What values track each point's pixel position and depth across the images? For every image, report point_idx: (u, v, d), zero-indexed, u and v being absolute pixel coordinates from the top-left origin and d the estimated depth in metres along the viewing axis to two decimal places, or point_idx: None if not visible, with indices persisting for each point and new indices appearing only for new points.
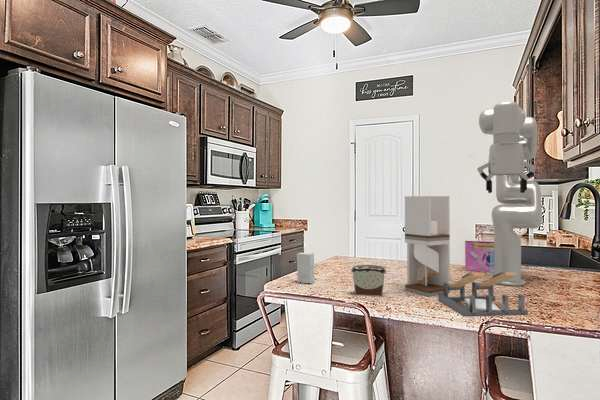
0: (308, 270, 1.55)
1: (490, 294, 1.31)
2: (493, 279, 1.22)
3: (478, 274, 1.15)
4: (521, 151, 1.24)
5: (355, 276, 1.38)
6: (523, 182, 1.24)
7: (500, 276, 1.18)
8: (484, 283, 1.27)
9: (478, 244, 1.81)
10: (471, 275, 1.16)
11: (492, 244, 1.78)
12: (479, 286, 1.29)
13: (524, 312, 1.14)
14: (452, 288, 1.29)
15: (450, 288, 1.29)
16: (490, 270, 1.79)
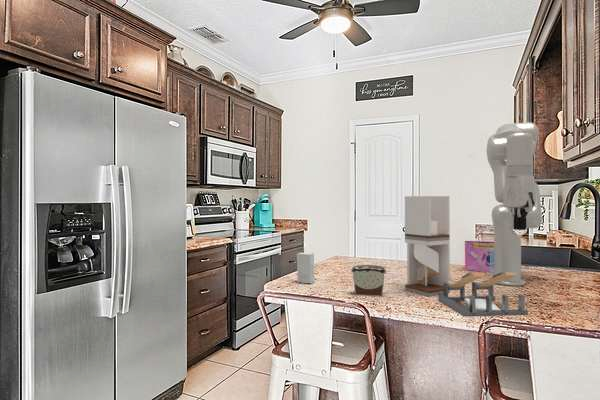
0: (308, 270, 1.55)
1: (490, 294, 1.31)
2: (493, 279, 1.22)
3: (478, 274, 1.15)
4: None
5: (355, 276, 1.38)
6: None
7: (500, 276, 1.18)
8: (484, 283, 1.27)
9: (478, 244, 1.81)
10: (471, 275, 1.16)
11: (492, 244, 1.78)
12: (479, 286, 1.29)
13: (524, 312, 1.14)
14: (452, 288, 1.29)
15: (450, 288, 1.29)
16: (490, 270, 1.79)
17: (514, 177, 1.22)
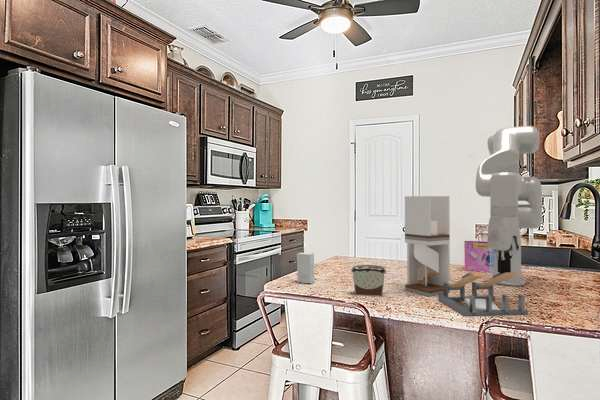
0: (308, 270, 1.55)
1: (490, 294, 1.31)
2: (493, 279, 1.22)
3: (478, 274, 1.15)
4: None
5: (355, 276, 1.38)
6: None
7: (500, 276, 1.18)
8: (484, 283, 1.27)
9: (477, 244, 1.81)
10: (471, 275, 1.16)
11: None
12: (479, 286, 1.29)
13: (524, 312, 1.14)
14: (452, 288, 1.29)
15: (450, 288, 1.29)
16: (489, 270, 1.79)
17: (498, 218, 1.17)
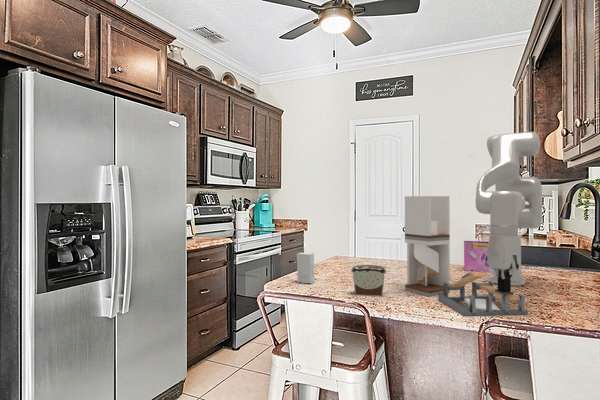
0: (308, 270, 1.55)
1: (490, 294, 1.31)
2: (495, 293, 1.21)
3: (478, 274, 1.15)
4: None
5: (355, 276, 1.38)
6: None
7: None
8: (485, 289, 1.26)
9: (477, 244, 1.81)
10: (471, 275, 1.16)
11: None
12: (479, 287, 1.30)
13: (524, 312, 1.14)
14: (452, 288, 1.29)
15: (450, 288, 1.29)
16: (489, 270, 1.79)
17: (498, 237, 1.17)
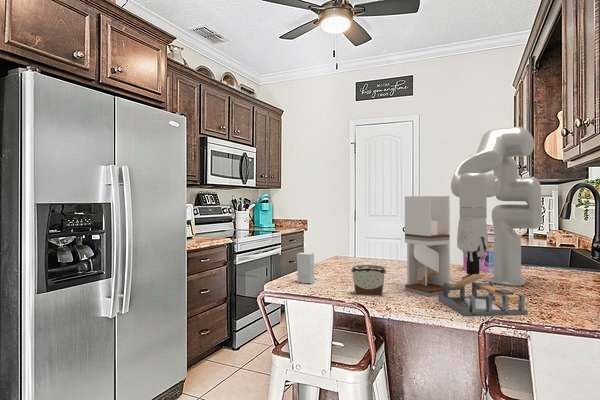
0: (308, 270, 1.55)
1: (490, 294, 1.31)
2: (495, 293, 1.21)
3: (478, 275, 1.14)
4: None
5: (355, 276, 1.38)
6: None
7: None
8: (485, 289, 1.26)
9: None
10: (471, 276, 1.15)
11: (491, 244, 1.79)
12: (479, 287, 1.30)
13: (524, 312, 1.14)
14: (452, 288, 1.29)
15: (450, 288, 1.29)
16: (489, 270, 1.79)
17: (466, 219, 1.16)
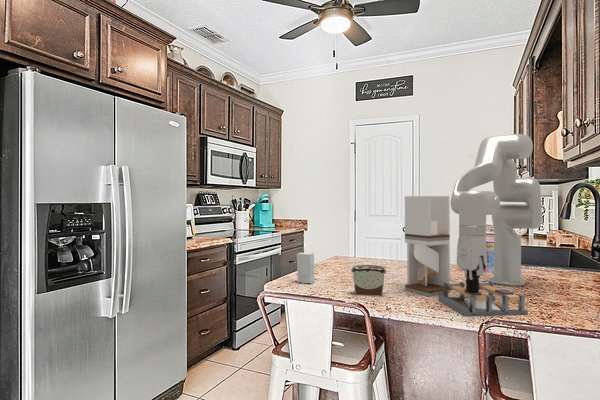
0: (308, 270, 1.55)
1: (490, 294, 1.31)
2: (495, 293, 1.21)
3: (481, 299, 1.13)
4: None
5: (355, 276, 1.38)
6: None
7: None
8: (485, 289, 1.26)
9: None
10: None
11: (490, 244, 1.79)
12: (479, 287, 1.30)
13: (524, 312, 1.14)
14: (452, 289, 1.29)
15: (450, 289, 1.29)
16: (488, 270, 1.79)
17: (466, 238, 1.16)
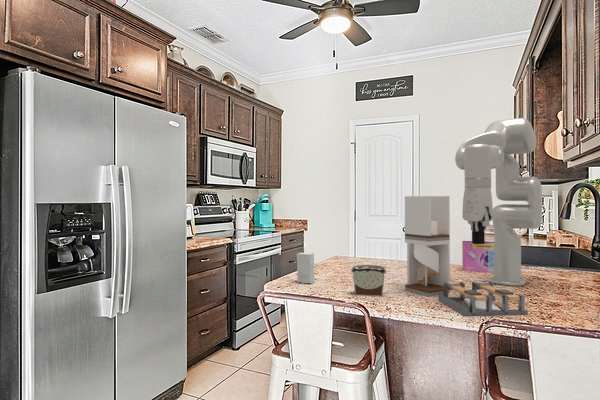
0: (308, 270, 1.55)
1: (490, 294, 1.31)
2: (495, 293, 1.21)
3: (481, 299, 1.13)
4: None
5: (355, 276, 1.38)
6: None
7: None
8: (485, 289, 1.26)
9: (476, 244, 1.80)
10: None
11: (490, 244, 1.79)
12: (479, 287, 1.30)
13: (524, 312, 1.14)
14: (452, 289, 1.29)
15: (450, 289, 1.29)
16: (488, 270, 1.79)
17: (471, 190, 1.18)
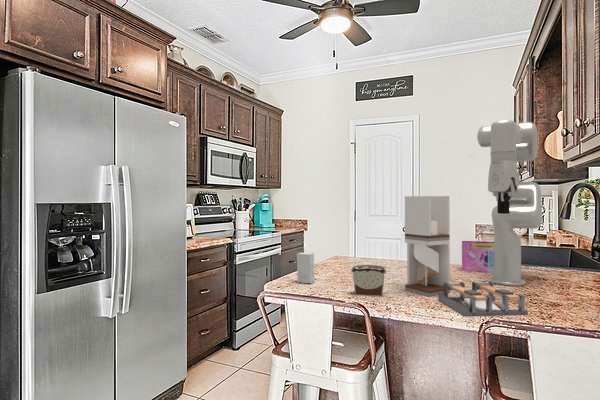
0: (308, 270, 1.55)
1: (490, 294, 1.31)
2: (495, 293, 1.21)
3: (481, 299, 1.13)
4: None
5: (355, 276, 1.38)
6: None
7: None
8: (485, 289, 1.26)
9: (476, 244, 1.80)
10: None
11: (490, 244, 1.79)
12: (479, 287, 1.30)
13: (524, 312, 1.14)
14: (452, 289, 1.29)
15: (450, 289, 1.29)
16: (488, 270, 1.79)
17: (498, 163, 1.27)
